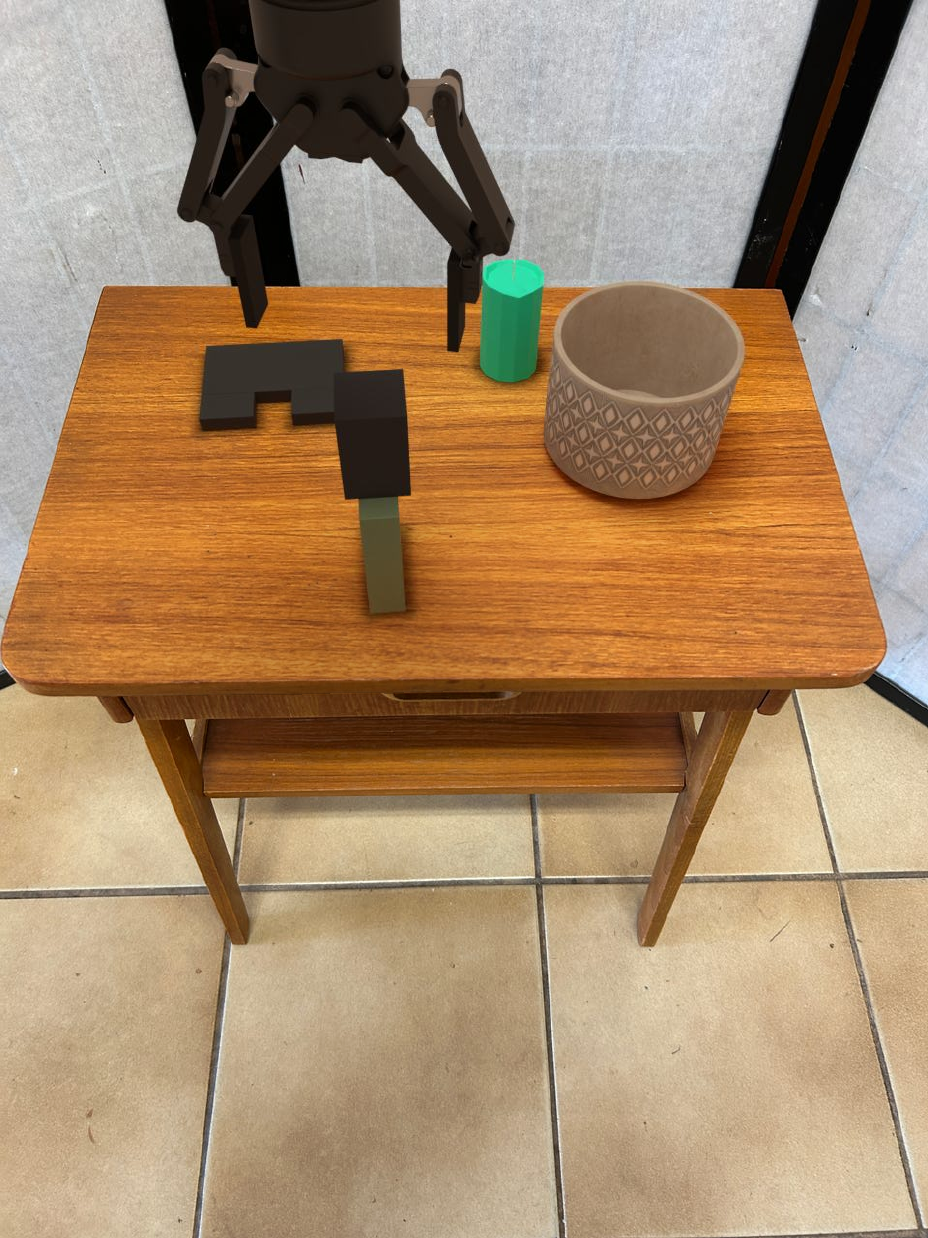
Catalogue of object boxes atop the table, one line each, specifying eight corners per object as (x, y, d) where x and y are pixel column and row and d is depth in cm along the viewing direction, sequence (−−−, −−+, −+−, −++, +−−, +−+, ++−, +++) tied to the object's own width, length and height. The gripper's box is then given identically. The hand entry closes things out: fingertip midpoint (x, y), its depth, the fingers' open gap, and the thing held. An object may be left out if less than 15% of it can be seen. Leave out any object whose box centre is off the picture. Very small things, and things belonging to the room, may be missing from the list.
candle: (470, 373, 98) (472, 271, 88) (491, 339, 101) (496, 236, 92) (525, 388, 97) (533, 286, 87) (544, 353, 100) (555, 251, 90)
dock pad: (202, 430, 93) (198, 419, 92) (209, 357, 99) (206, 345, 98) (346, 422, 94) (344, 410, 92) (343, 350, 100) (342, 338, 99)
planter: (561, 517, 87) (576, 411, 76) (527, 396, 96) (537, 288, 86) (734, 499, 88) (772, 392, 78) (684, 382, 98) (712, 273, 87)
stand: (370, 614, 80) (359, 519, 70) (366, 533, 85) (355, 434, 76) (405, 611, 80) (399, 516, 71) (399, 531, 86) (393, 432, 76)
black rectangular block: (344, 500, 72) (334, 420, 65) (342, 426, 76) (332, 344, 70) (411, 496, 72) (407, 416, 65) (405, 422, 76) (400, 341, 70)
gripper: (584, -46, 47) (547, 313, 65) (106, -85, 50) (194, 273, 67) (569, 20, 43) (534, 386, 60) (46, -26, 45) (157, 340, 62)
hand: (355, 327), depth 64 cm, fingers open, 13 cm apart
